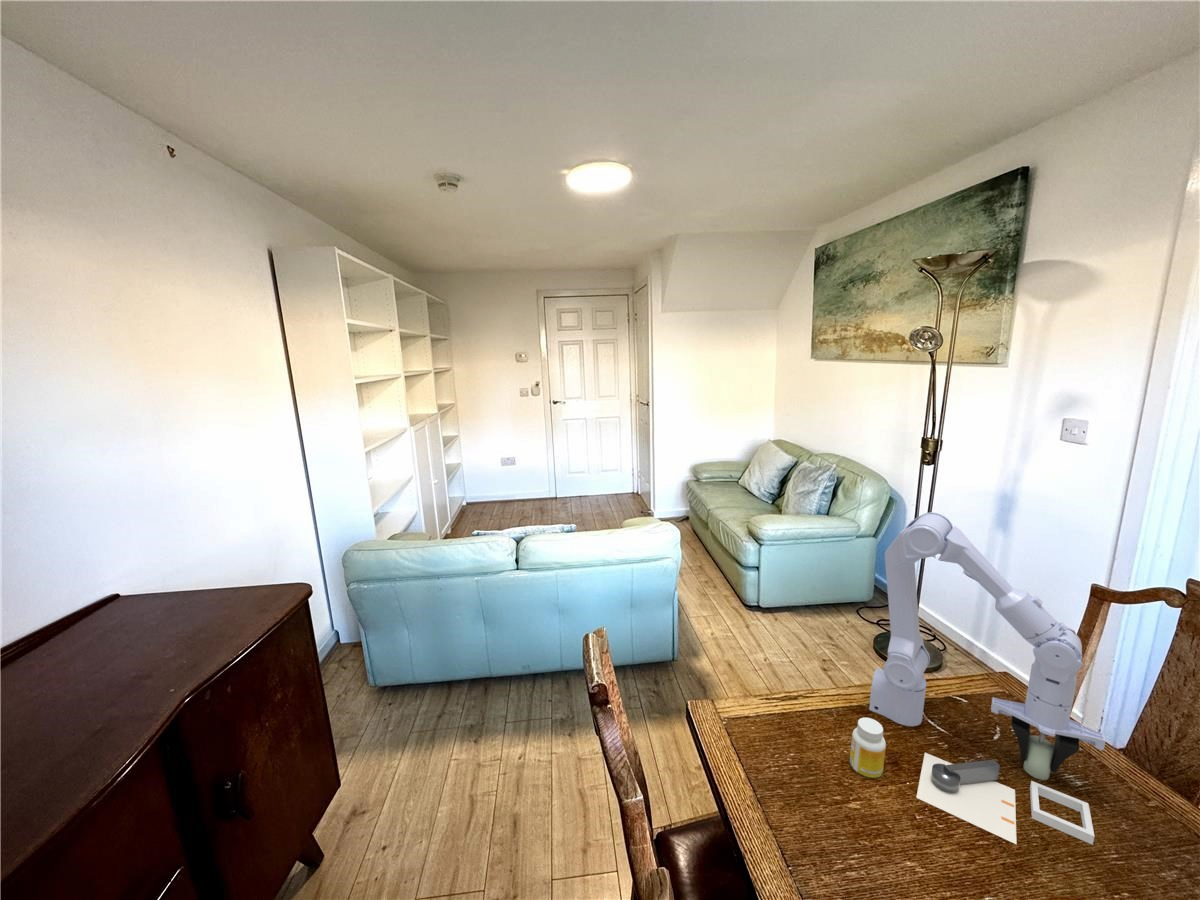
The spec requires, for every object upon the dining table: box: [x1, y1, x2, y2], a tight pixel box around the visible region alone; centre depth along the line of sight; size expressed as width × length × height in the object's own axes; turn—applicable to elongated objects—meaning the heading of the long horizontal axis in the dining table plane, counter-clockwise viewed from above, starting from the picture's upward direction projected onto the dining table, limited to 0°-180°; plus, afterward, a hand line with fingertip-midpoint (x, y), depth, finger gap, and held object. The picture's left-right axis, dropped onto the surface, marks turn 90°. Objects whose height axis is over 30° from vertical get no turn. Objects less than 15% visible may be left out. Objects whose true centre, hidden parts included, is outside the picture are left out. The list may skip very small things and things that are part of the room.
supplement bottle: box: [849, 717, 887, 779], centre depth 88 cm, size 5×5×10 cm
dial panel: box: [915, 752, 1017, 845], centre depth 83 cm, size 13×12×1 cm
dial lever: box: [931, 759, 1001, 793], centre depth 85 cm, size 12×4×3 cm, turn 96°
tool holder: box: [1029, 780, 1096, 846], centre depth 79 cm, size 7×7×2 cm
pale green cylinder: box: [1023, 731, 1054, 781], centre depth 86 cm, size 3×3×9 cm
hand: (1037, 762), depth 86 cm, fingers closed on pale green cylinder, 3 cm apart
